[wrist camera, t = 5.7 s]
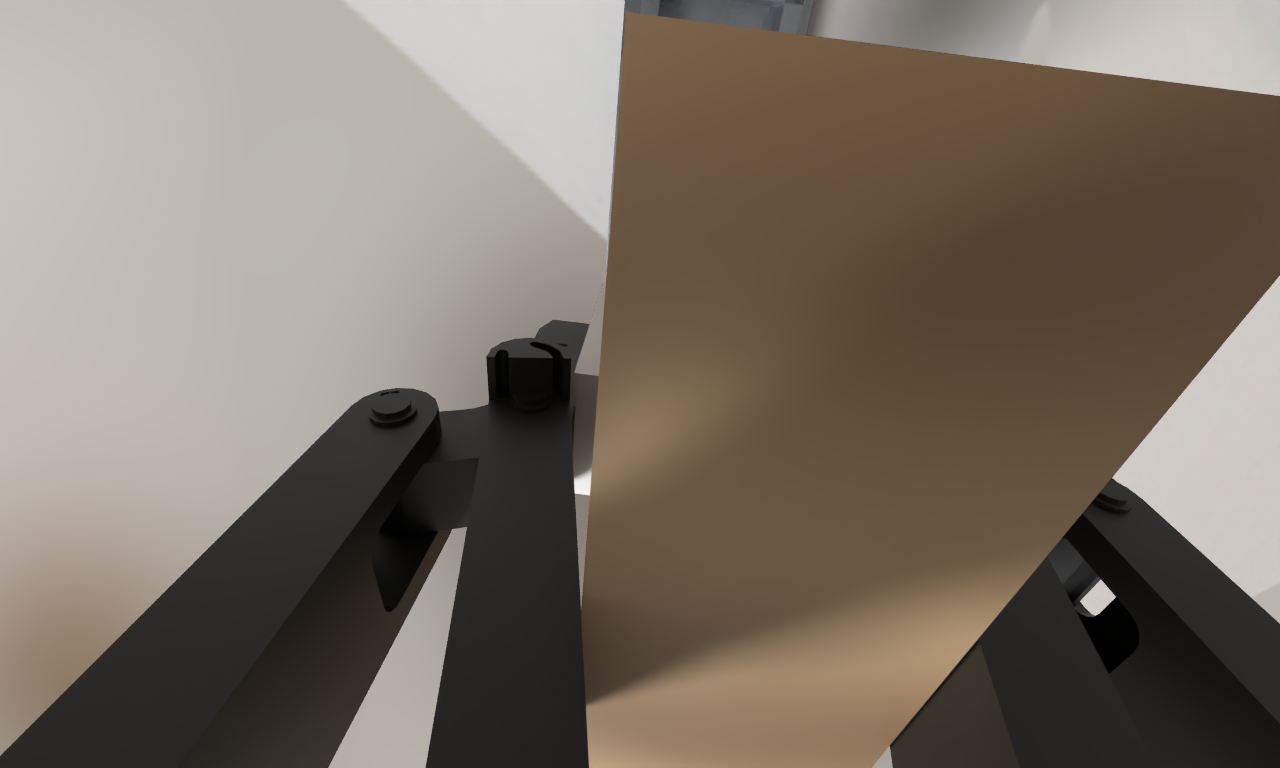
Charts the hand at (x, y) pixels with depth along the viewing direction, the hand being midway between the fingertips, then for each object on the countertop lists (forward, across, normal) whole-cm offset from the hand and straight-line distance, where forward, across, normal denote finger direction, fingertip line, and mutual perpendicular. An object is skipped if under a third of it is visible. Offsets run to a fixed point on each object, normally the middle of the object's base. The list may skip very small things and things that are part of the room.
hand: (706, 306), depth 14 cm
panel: (+2, 0, 0) cm, 2 cm away
